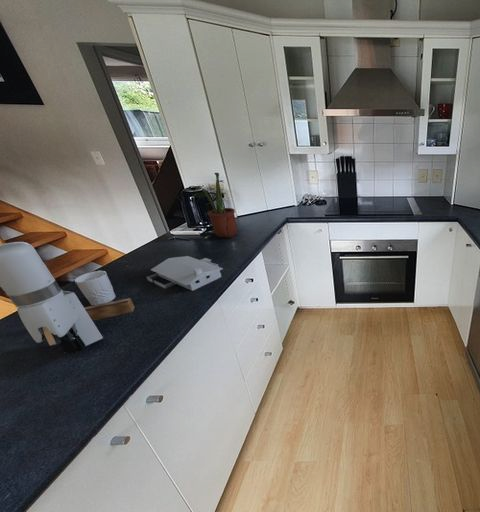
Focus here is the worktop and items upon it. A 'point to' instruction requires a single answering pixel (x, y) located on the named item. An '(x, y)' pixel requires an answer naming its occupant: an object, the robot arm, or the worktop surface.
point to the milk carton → (83, 321)
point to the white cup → (96, 287)
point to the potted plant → (220, 213)
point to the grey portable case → (187, 272)
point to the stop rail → (110, 309)
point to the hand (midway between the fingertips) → (76, 349)
